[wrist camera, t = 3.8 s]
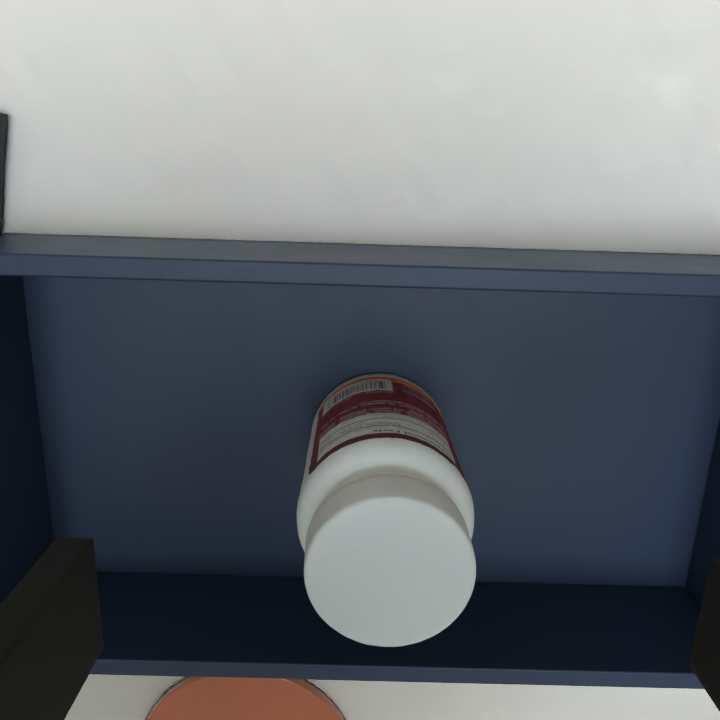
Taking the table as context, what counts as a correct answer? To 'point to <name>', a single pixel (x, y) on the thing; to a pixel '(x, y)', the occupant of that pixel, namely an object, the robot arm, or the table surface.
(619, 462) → the bin
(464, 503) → the pill bottle
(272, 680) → the coaster
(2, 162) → the wallet
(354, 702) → the table surface
